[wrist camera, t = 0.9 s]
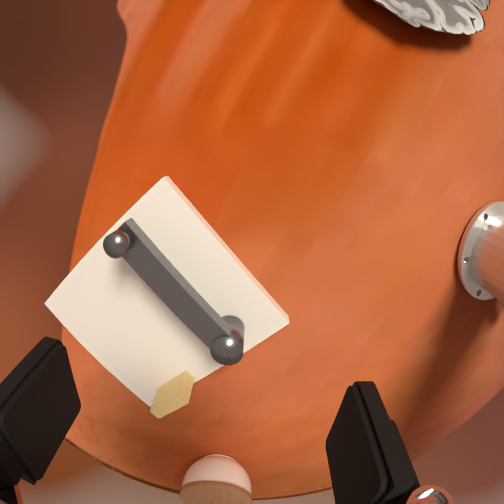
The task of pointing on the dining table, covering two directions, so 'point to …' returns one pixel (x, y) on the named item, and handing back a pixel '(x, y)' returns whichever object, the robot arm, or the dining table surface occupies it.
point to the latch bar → (177, 293)
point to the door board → (161, 303)
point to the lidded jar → (216, 482)
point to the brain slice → (440, 14)
